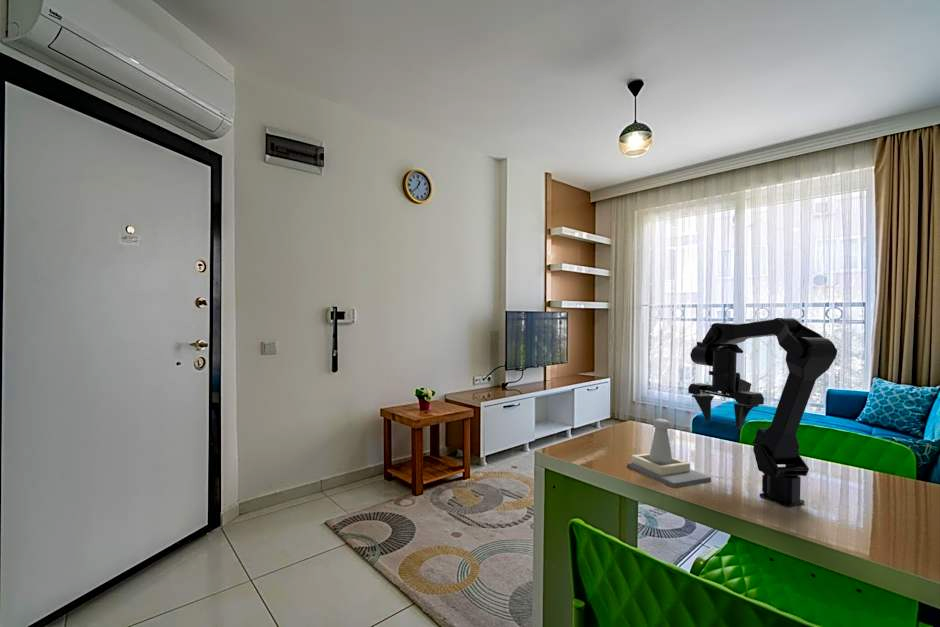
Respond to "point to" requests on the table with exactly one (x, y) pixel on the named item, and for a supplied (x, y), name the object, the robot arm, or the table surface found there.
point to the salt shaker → (661, 443)
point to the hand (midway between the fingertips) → (723, 424)
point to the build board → (668, 471)
